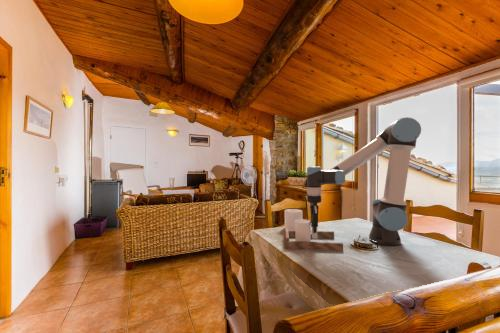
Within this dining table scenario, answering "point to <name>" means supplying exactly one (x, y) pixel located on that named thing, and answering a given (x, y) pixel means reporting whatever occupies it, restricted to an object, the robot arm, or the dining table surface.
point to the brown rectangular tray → (313, 244)
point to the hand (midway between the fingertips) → (314, 238)
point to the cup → (292, 217)
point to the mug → (302, 230)
